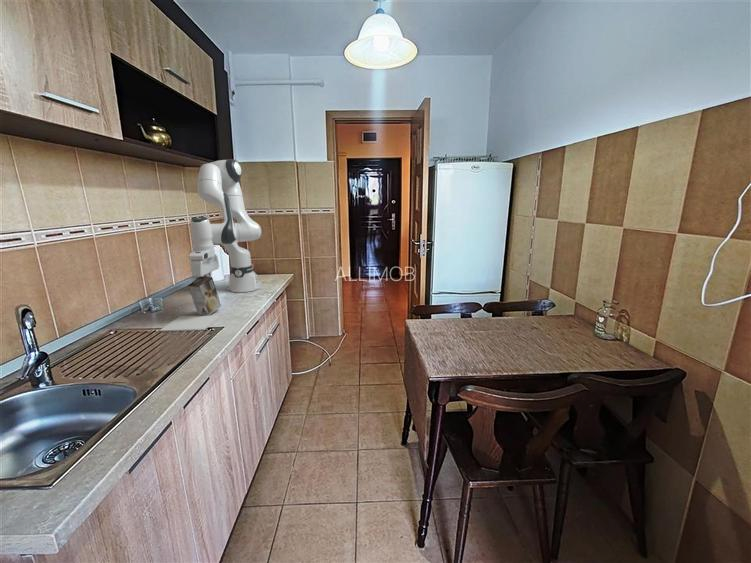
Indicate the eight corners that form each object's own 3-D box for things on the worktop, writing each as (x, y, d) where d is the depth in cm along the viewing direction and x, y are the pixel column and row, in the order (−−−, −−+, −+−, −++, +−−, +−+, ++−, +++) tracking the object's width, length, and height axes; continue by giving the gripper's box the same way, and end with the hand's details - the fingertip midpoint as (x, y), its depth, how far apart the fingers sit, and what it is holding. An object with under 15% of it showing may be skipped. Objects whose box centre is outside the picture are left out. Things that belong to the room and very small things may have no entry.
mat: (180, 317, 153) (179, 316, 153) (220, 316, 154) (219, 315, 154) (159, 331, 138) (159, 330, 138) (204, 330, 138) (204, 329, 138)
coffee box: (210, 305, 164) (200, 275, 156) (221, 306, 162) (212, 276, 155) (197, 315, 156) (187, 285, 148) (209, 316, 154) (199, 285, 147)
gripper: (207, 250, 165) (211, 277, 168) (186, 256, 145) (190, 287, 149) (220, 249, 165) (223, 277, 169) (200, 256, 145) (205, 287, 149)
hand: (208, 282), depth 158 cm, fingers closed
